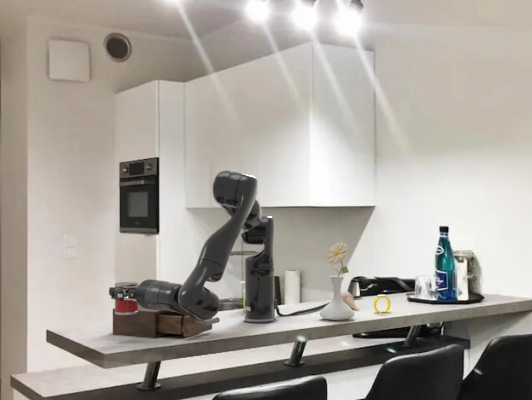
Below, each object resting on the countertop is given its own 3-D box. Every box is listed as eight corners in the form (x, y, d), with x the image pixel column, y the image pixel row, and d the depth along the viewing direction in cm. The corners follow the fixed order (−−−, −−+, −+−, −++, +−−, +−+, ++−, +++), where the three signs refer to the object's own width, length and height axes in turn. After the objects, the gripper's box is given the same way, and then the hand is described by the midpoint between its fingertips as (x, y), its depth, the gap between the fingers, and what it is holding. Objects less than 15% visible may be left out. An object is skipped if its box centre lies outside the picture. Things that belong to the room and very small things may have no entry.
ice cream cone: (365, 312, 247) (351, 297, 261) (360, 301, 245) (346, 287, 259) (353, 319, 246) (339, 303, 260) (348, 308, 244) (335, 293, 258)
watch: (387, 311, 244) (387, 294, 244) (391, 312, 241) (391, 294, 241) (372, 312, 241) (372, 295, 241) (376, 313, 239) (376, 295, 239)
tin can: (125, 310, 194) (125, 281, 194) (143, 312, 191) (143, 282, 191) (110, 314, 188) (109, 284, 188) (128, 315, 185) (128, 285, 186)
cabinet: (183, 329, 208) (183, 305, 208) (154, 337, 195) (154, 311, 195) (142, 326, 214) (142, 302, 214) (112, 334, 201) (112, 308, 201)
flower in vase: (314, 317, 230) (314, 240, 230) (346, 315, 234) (346, 240, 234) (329, 323, 218) (329, 242, 218) (363, 321, 222) (362, 242, 222)
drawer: (224, 330, 201) (224, 311, 201) (200, 338, 190) (200, 318, 190) (173, 326, 209) (173, 308, 209) (146, 333, 197) (146, 314, 197)
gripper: (181, 278, 185) (143, 274, 197) (133, 283, 175) (97, 278, 186) (181, 306, 185) (144, 301, 197) (133, 313, 175) (97, 307, 186)
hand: (121, 290), depth 191 cm, fingers closed on tin can, 6 cm apart
